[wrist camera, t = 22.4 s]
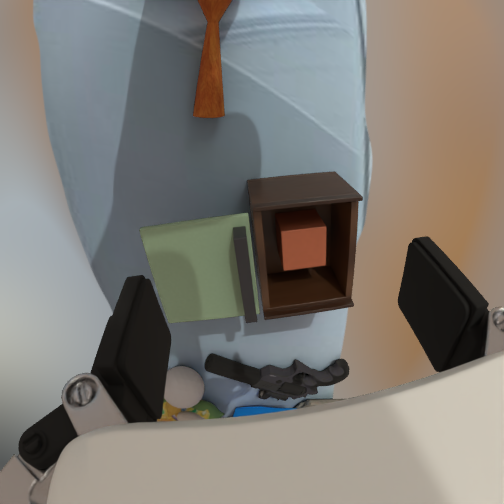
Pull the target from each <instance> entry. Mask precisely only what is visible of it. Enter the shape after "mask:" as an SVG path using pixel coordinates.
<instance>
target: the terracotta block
mask: <svg viewBox="0 0 504 504" xmlns="http://www.w3.org/2000/svg"><path fill="white" fill-rule="evenodd" d="M275 224H276V237H277V250H278V253H279V257H280V260H281V264H282V267H283V271H287V270H294V269H302V268H310V267H317V266H324V265H326V225H325V224H324V222H323V221H322V219H321V217H320V216H319V214H318V213H317V211H316V210H315V209H312V210H302V211H293V212H284V213H275Z"/></svg>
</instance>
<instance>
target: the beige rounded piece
mask: <svg viewBox="0 0 504 504" xmlns="http://www.w3.org/2000/svg"><path fill="white" fill-rule="evenodd" d="M203 394H204V382H203V380H202V377H201V376H200V375H199V374H198V372H196V371H195V370H193V369H191V368H189V367H185V366H178V367H174V368H171V369H170V370H168V371H167V377H166V385H165V393H164V398H165V400H166V401H167V402H166V409H167V413H168V414H167V415H168V417H171V416H172V415H175V416H176V418H177V420H178V421H187V420H203V418H202V417H201V416H200V415H198V414H196V413H194V412H187V411H184V412H180V411H181V409H182V408H191V407H192V406H194V405H196V404H197V403H198V402H199V401H200V400H201V398H202V397H203Z"/></svg>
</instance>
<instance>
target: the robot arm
mask: <svg viewBox="0 0 504 504" xmlns="http://www.w3.org/2000/svg"><path fill="white" fill-rule="evenodd" d="M398 305H399V308H400V309H401V311H402V313H403V314H404V316H405V318H406V319H407V321H408V323H409V324H410V326H411V328H412V330H413V331H414V333H415V335H416V337H417V338H418V340H419V342H420V344H421V345H422V347H423V349H424V351H425V353H426V354H427V356H428V358H429V360H430V362H431V364H432V365H433V367H434V369H435V370H436V371H437V372H439V373H437V374H434V375H431V376H428V377H426V378H422V379H419V380H416V381H413V382H409V383H406V384H403V385H399V386H396V387H392V388H389V389H385V390H381V391H378V392H374V393H370V394H366V395H362V396H358V397H353V398H349V399H345V400H340V401H335V402H331V403H326V404H321V405H315V406H310V407H304V408H299V409H292V410H286V411H280V412H273V413H265V414H257V415H249V416H239V417H229V418H217V419H203V420H187V421H160V422H157V419H161V417H162V411H163V402H164V393H165V385H166V377H167V369H168V361H169V354H170V347H171V334H170V331H169V328H168V326H167V323H166V321H165V318H164V316H163V313H162V310H161V308H160V305H159V303H158V300H157V297H156V294H155V292H154V289H153V286H152V283H151V281H150V279H145V277H144V276H143V275H139V276H131V277H127V279H126V281H125V283H124V286H123V289H122V291H121V294H120V296H119V299H118V302H117V304H116V307H115V310H114V313H113V315H112V316H110V318H109V320H108V322H107V325H106V328H105V331H104V334H103V336H102V339H101V343H100V345H99V348H98V351H97V354H96V357H95V360H94V364H93V367H92V370H91V373H82V374H78V375H76V376H74V377H73V378H71V379H70V380H69V381H68V382H67V383H66V384H65V386H64V388H63V390H62V397H61V398H62V402H63V404H62V405H60V406H59V407H58V408H56V409H55V410H53V411H52V412H51V413H49V414H48V415H46V416H45V417H44V418H42V419H41V420H40V421H38V422H37V423H36V424H34V425H33V426H31V427H30V428H28V429H27V430H26V431H25V432H24V433H23V435H22V436H21V438H20V441H19V455H18V456H16V455H15V454H14V455H13V456H12V458H11V459H10V460H9V461H8V463H7V464H6V465H5V466H4V468H3V469H2V470H1V472H0V504H504V307H495V308H493V309H492V310H491V311H490V312H489V311H488V309H487V307H488V302H487V301H486V300H485V299H484V298H483V296H482V295H481V294H480V293H479V292H478V290H477V289H476V288H475V287H474V286H473V284H472V283H471V282H470V281H469V280H468V279H467V278H466V276H465V275H464V274H463V273H462V272H461V271H460V270H459V269H458V267H457V266H456V265H455V264H454V263H453V262H452V261H451V260H450V259H449V258H448V257H447V255H446V254H445V253H444V252H443V251H442V250H441V249H440V248H439V247H438V246H437V245H436V244H435V243H434V242H433V241H432V240H431V239H430V238H429V237H420V238H414V239H413V240H412V243H410V244H409V246H408V251H407V257H406V262H405V267H404V272H403V277H402V282H401V287H400V292H399V296H398Z"/></svg>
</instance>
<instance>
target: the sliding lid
mask: <svg viewBox="0 0 504 504" xmlns="http://www.w3.org/2000/svg"><path fill="white" fill-rule="evenodd" d="M139 231H140V234H141V238H142V242H143V245H144V248H145V252H146V255H147V259H148V262H149V265H150V268H151V272H152V275H153V278H154V281H155V284H156V287H157V290H158V293H159V296H160V299H161V302H162V305H163V308H164V311H165V314H166V317H167V320H168V322H169V323H178V322H189V321H199V320H209V319H219V318H228V317H237V316H245V320H246V323H251V322H257V315H256V314H260V311H259V302H258V293H257V285H256V276H255V267H254V259H253V250H252V241H251V233H250V224H249V215H248V213H241V214H233V215H226V216H218V217H210V218H203V219H196V220H188V221H181V222H174V223H167V224H161V225H154V226H147V227H141V228H140V230H139Z"/></svg>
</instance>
